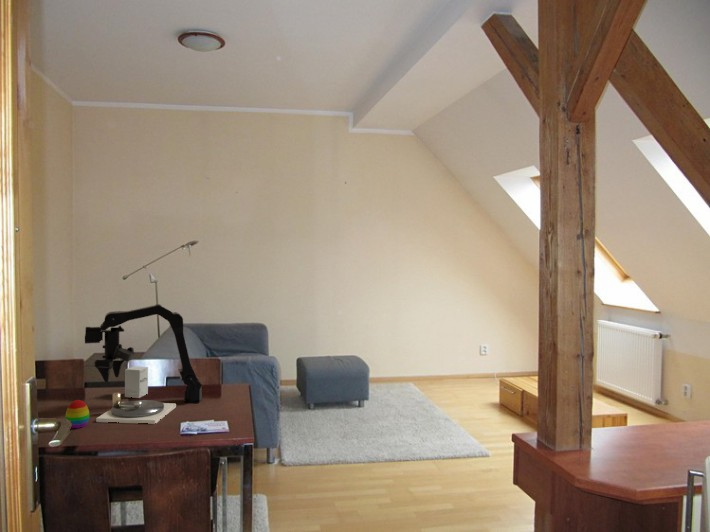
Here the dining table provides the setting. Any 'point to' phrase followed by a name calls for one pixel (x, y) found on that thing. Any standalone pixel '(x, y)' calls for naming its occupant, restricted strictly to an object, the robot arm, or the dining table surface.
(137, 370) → the supplement box
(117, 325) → the robot arm
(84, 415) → the decorative egg
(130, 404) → the handwheel
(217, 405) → the dining table surface
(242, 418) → the dining table surface
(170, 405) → the base plate
